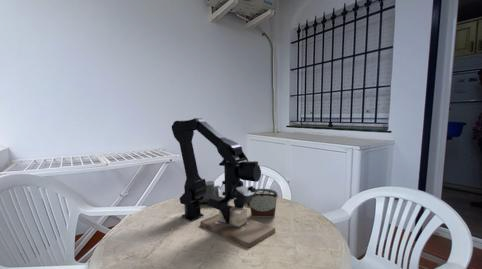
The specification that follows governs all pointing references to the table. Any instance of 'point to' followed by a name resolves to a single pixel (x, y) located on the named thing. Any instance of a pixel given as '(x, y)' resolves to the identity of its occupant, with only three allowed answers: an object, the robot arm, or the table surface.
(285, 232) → the table surface
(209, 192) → the pipe fitting
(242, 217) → the block
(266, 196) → the food container
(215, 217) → the oak board
